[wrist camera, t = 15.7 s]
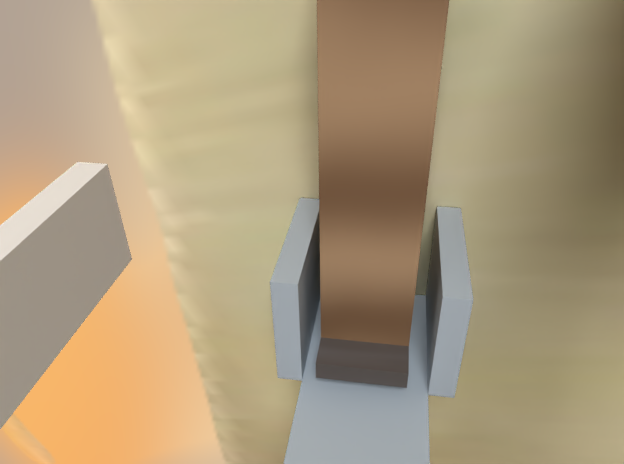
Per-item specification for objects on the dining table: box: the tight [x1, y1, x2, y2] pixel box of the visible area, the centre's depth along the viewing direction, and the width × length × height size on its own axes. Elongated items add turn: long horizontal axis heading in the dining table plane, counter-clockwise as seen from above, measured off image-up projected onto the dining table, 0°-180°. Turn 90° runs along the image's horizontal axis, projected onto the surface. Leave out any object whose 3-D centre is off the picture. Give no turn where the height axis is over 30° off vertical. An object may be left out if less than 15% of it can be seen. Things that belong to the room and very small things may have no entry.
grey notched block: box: [270, 198, 473, 464], centre depth 21 cm, size 10×7×13 cm
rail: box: [316, 0, 449, 388], centre depth 19 cm, size 16×4×6 cm, turn 1°
